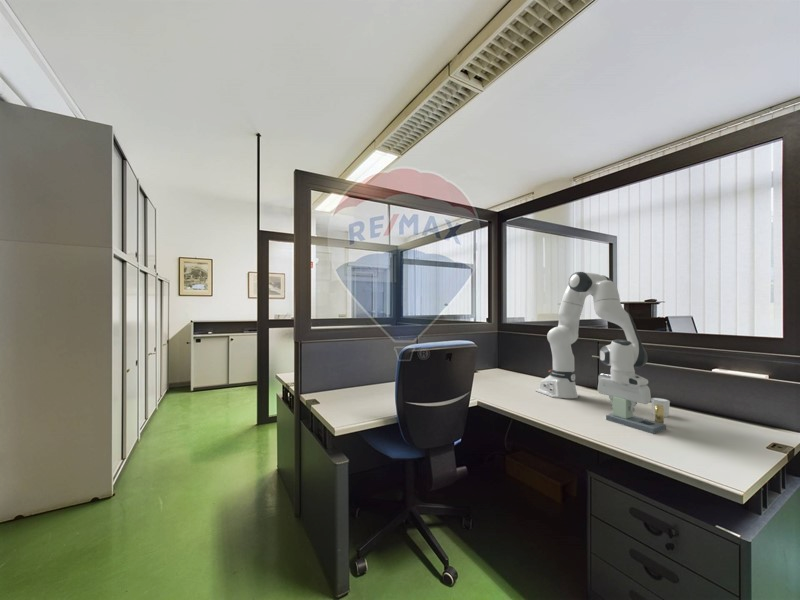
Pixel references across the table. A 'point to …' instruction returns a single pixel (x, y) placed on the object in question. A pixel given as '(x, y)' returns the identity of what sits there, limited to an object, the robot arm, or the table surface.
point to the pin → (659, 413)
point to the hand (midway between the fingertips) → (622, 408)
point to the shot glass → (661, 402)
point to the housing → (621, 408)
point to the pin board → (638, 423)
